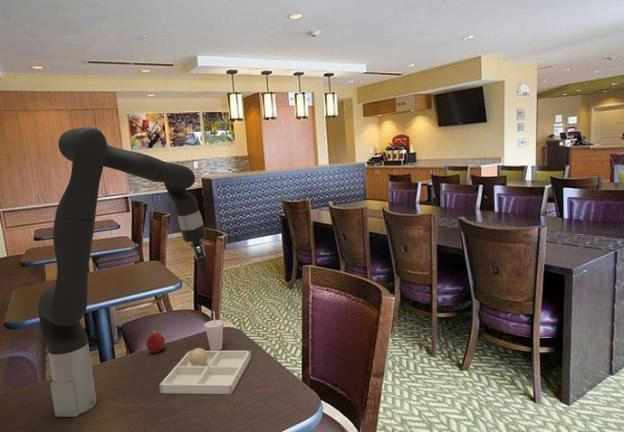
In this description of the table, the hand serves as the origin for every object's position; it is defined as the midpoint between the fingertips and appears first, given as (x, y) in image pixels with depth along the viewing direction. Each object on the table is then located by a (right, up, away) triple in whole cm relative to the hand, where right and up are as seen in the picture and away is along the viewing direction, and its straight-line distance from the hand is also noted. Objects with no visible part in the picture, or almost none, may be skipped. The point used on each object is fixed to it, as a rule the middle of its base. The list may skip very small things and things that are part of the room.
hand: (203, 268), depth 148 cm
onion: (-15, -28, -3) cm, 32 cm away
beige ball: (+3, -28, -16) cm, 32 cm away
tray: (+7, -29, -21) cm, 37 cm away
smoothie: (+5, -27, -4) cm, 28 cm away
